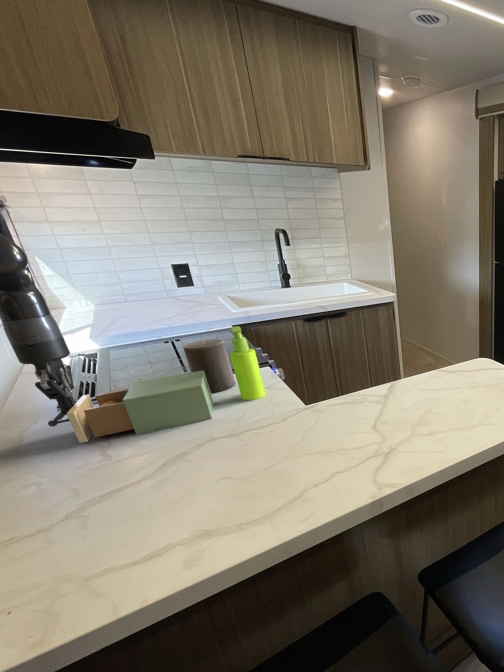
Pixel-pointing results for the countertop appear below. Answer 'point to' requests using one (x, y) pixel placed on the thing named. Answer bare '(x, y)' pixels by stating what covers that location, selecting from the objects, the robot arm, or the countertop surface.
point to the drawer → (96, 416)
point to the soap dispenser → (246, 368)
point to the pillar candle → (211, 363)
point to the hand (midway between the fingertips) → (70, 412)
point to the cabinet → (168, 402)
